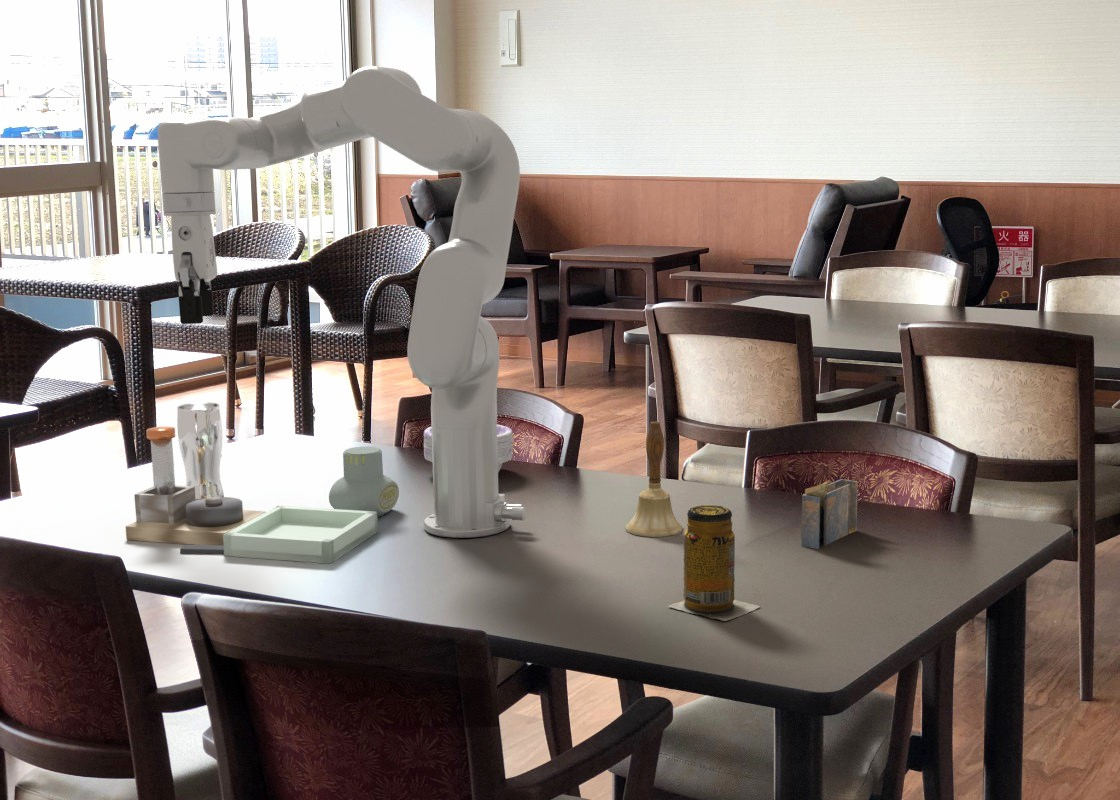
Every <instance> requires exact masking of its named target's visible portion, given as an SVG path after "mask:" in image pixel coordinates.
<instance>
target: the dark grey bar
mask: <svg viewBox="0 0 1120 800" xmlns="http://www.w3.org/2000/svg"><path fill="white" fill-rule="evenodd" d="M179 552H180V554H205V555H206V554H211V555H213V554H214V555H215V554H219V555H222V554H223V555H224V545H193V544H184V545H183V546H182V547H181V548H179Z"/></svg>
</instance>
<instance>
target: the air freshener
mask: <svg viewBox="0 0 1120 800" xmlns="http://www.w3.org/2000/svg"><path fill="white" fill-rule="evenodd" d="M342 458H343V465H342V466H343V476H342V477H340V478H338V479H337V480H336V481H335V482H334V483H333V484H332V485H331V487H330V491H329V493H328V500H329V505H330V506H331V507H332V509H341V510H358V511H374V512H377V518H378V517H382V516H384V515H385V514H386V513H388V512H390V511H391V510H392V509H394V507H395V506H396V504H397V502H398V499H399V496H400V488H399V485H398V484H397V482H396V481H395V480H393V479H392V478H391V477H389V476H387V475H385V474H384V469H383V467H384V466H383V451H382V450H381V448H380V447H376V446H355V447H350V448H347V449H345V450H344V451H343V453H342Z"/></svg>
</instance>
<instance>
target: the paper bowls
mask: <svg viewBox="0 0 1120 800" xmlns="http://www.w3.org/2000/svg"><path fill="white" fill-rule="evenodd" d="M513 432H514V431H513V429H511V427H508V426H506V425H502V424H499V423H497V455H498V473H499V472H500V470H501V469H502V467H503V463H508V462H509V461H511V460H512V458H513V455H514V454H513V453H514V451H513V450H514V449H513V448H514V447H513V445H514V444H513V443H514V441H513V440H514V439H513V438H514V437H513V434H514V433H513ZM423 456H424V459H425V460H426V461H428V462H430V463H433V462H432V432H431V426H429V427H426V429H424V431H423Z"/></svg>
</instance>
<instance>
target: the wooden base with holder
mask: <svg viewBox="0 0 1120 800" xmlns="http://www.w3.org/2000/svg"><path fill="white" fill-rule="evenodd" d="M175 490H176V493H174V494H172V495H159V494H154V485H153V486H151V487H149V488H146V489H144V490H142V491H140V492H137V493H134V507H135V519H136V520H135V522H132V523H130V524H128V525H126V526H125V535H126V541H141V542H153V543H166V544H179V545H180V544H181V545H224V544H223V535H224V534H225V533H227V532H229V531H231V530H233V529H235V528H237V527H239V526H240V525H242V524H244V523H246V522H248V521H250V520H252V519H253V518H255V517H257V516H259V515H261V514H263V513H265V512H267V511H264V510H249V509H247V510H246V509H244V507H243V500H241V499H240V498H237V497H236V498H235V497H230V496H228V497H227V496H226V497H225V496H222V497H209V498H205V499H200V500H196V498H195V487H193V486H186V485H175Z"/></svg>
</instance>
